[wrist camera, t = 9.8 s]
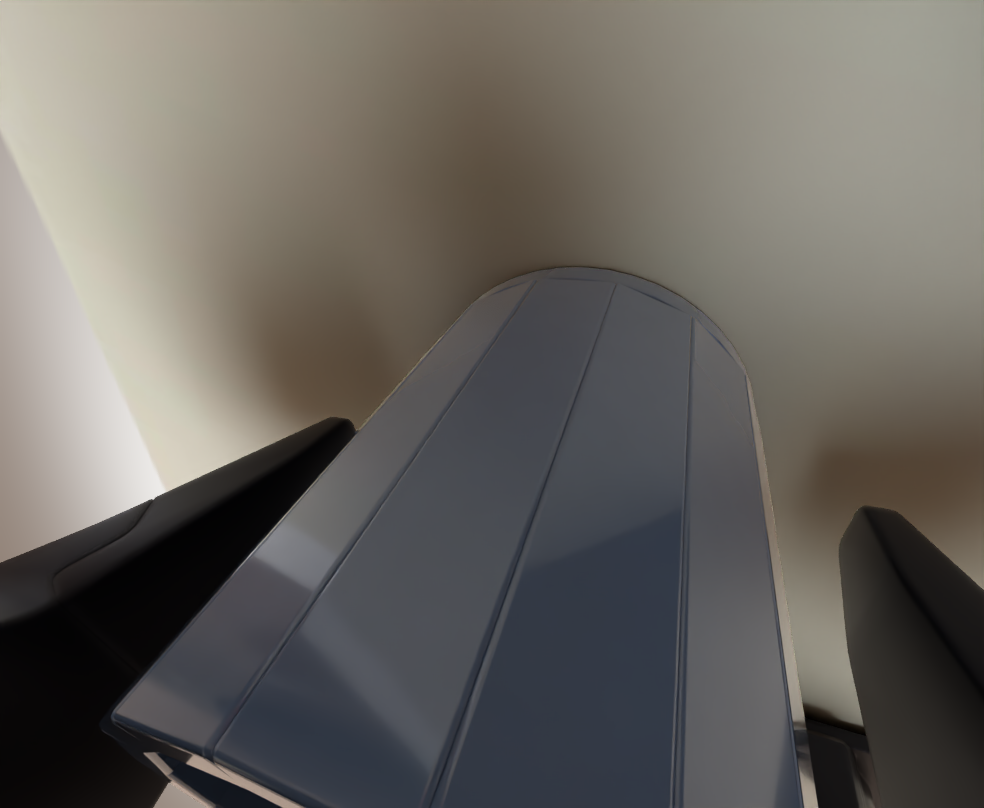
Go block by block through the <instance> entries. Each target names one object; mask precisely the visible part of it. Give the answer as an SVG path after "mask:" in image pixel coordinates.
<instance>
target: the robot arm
mask: <svg viewBox="0 0 984 808" xmlns="http://www.w3.org/2000/svg"><path fill="white" fill-rule="evenodd" d="M355 432H356V431H355V428H354V425H353V423H352V422H351V421H350V420H349V419H345V418H339V417H330V418H327V419H325V420H323V421H321V422H319V423H317V424H314V425H312V426H310V427H308V428H306V429H303V430H301V431H299V432H297V433H295V434H293V435H290V436H288V437H286V438H284V439H282V440H279V441H277V442H275V443H273V444H271V445H269V446H266V447H264V448H262V449H260V450H258V451H256V452H253V453H251V454H249V455H247V456H245V457H242V458H240V459H238V460H236V461H234V462H232V463H229V464H227V465H225V466H223V467H221V468H218V469H216V470H214V471H212V472H210V473H208V474H205V475H203V476H201V477H199V478H197V479H194V480H192V481H190V482H188V483H186V484H184V485H181V486H179V487H177V488H175V489H173V490H170V491H168V492H166V493H164V494H162V495H160V496H157V497H156V498H155V499H154V500H152V499H151V500H148V501H146V502H144V503H142V504H140V505H138V506H136V507H133V508H131V509H129V510H127V511H124V512H122V513H120V514H118V515H115V516H113V517H111V518H109V519H106V520H104V521H102V522H100V523H97V524H95V525H92V526H90V527H88V528H85V529H83V530H80V531H78V532H75V533H73V534H71V535H69V536H66V537H64V538H61V539H59V540H56V541H54V542H51V543H48V544H46V545H44V546H41V547H39V548H36V549H34V550H31V551H29V552H26V553H24V554H21V555H19V556H16V557H14V558H11V559H9V560H6V561H4V562H1V563H0V808H153V807H154V805H155V804H156V802H157V801H158V799H159V797H160V796H161V794H162V792H163V791H164V789H165V788H166V786H167V784H168V783H169V782H168V781H166V780H165V779H163V778H162V777H161V776H159V775H158V774H156V773H155V772H153V771H152V770H150V769H149V768H147V767H146V766H145V765H143V764H142V763H140V762H139V761H137V760H136V759H135V758H133V757H132V756H131V755H130V754H129V753H127V752H126V751H125V750H124V749H123V748H122V747H120V746H119V745H118V744H117V743H116V742H115V741H114V740H112V739H111V738H110V737H109V736H108V735H107V734H105V733H104V732H103V731H102V730H101V728H100V726H99V723H100V721H101V719H102V717H103V716H104V715H105V714H106V712H107V711H108V710H109V709H110V708H111V707H112V706H113V705H114V703H115V702H116V701H117V700H118V699H119V698H120V697H121V696H122V694H123V693H124V692H125V691H126V690H127V689H128V688H129V687H130V685H131V684H132V683H133V682H134V681H135V680H136V679H137V678H138V676H139V675H140V674H141V673H142V672H143V671H144V670H145V669H146V667H147V666H148V665H149V664H150V663H151V662H152V661H153V660H154V658H155V657H156V656H157V655H158V654H159V653H160V652H161V651H162V649H163V648H164V647H165V646H166V645H167V644H168V643H169V642H170V640H171V639H172V638H173V637H174V636H175V635H176V634H177V633H178V631H179V630H180V629H181V628H182V627H183V626H184V625H185V624H186V622H187V621H188V620H189V619H190V618H191V617H192V616H193V615H194V613H195V612H196V611H197V610H198V609H199V608H200V607H201V606H202V604H203V603H204V602H205V601H206V600H207V599H208V598H209V597H210V595H211V594H212V593H213V592H214V591H215V590H216V589H217V588H218V586H219V585H220V584H221V583H222V582H223V581H224V580H225V579H226V577H227V576H228V575H229V574H230V573H231V572H232V571H233V570H234V568H235V567H236V566H237V565H238V564H239V563H240V562H241V561H242V559H243V558H244V557H245V556H246V555H247V554H248V553H249V552H250V550H251V549H252V548H253V547H254V546H255V545H256V544H257V543H258V541H259V540H260V539H261V538H262V537H263V536H264V535H265V534H266V532H267V531H268V530H269V529H270V528H271V527H272V526H273V525H274V523H275V522H276V521H277V520H278V519H279V518H280V517H281V516H282V514H283V513H284V512H285V511H286V510H287V509H288V508H289V507H290V505H291V504H292V503H293V502H294V501H295V500H296V499H297V498H298V496H299V495H300V494H301V493H302V492H303V491H304V490H305V489H306V487H307V486H308V485H309V484H310V483H311V482H312V481H313V480H314V478H315V477H316V476H317V475H318V474H319V473H320V472H321V471H322V469H323V468H324V467H325V466H326V465H327V464H328V463H329V462H330V460H331V459H332V458H333V457H334V456H335V455H336V454H337V453H338V451H339V450H340V449H341V448H342V447H343V446H344V445H345V444H346V442H347V441H348V440H349V439H350V438H351V437H352V436H353V435H354V433H355ZM839 563H840V574H841V585H842V596H843V607H844V619H845V630H846V639H847V648H848V654H849V659H850V665H851V669H852V674H853V678H854V683H855V687H856V692H857V697H858V701H859V706H860V710H861V715H862V719H863V724H864V728H865V733H866V736H864V735H860V734H857V733H854V732H850V731H847V730H844V729H840V728H837V727H834V726H830V725H827V724H824V723H820V722H817V721H814V720H810V719H807V718H805V724H806V731H807V737H808V744H809V750H810V757H811V764H812V770H813V777H814V783H815V790H816V797H817V803H818V808H984V590H983V589H982V588H981V587H980V586H978V585H977V584H976V583H975V582H974V581H973V580H972V579H971V578H970V577H969V576H968V575H966V574H965V573H964V572H963V571H962V570H961V569H960V568H959V567H958V566H957V565H955V564H954V563H953V562H952V561H951V560H950V559H949V558H948V557H947V556H946V555H944V554H943V553H942V552H941V551H940V550H939V549H938V548H937V547H936V546H935V545H934V544H932V543H931V542H930V541H929V540H928V539H927V538H926V537H925V536H924V535H923V534H921V533H920V532H919V531H918V530H917V529H916V528H915V527H914V526H913V525H912V524H910V523H909V522H908V521H907V520H906V519H905V518H904V517H903V516H902V515H900V514H899V513H898V512H896V511H893V510H890V509H884V508H878V507H872V506H862V507H860V508H859V509H858V510H857V511H856V513H855V515H854V517H853V518H852V520H851V522H850V524H849V526H848V528H847V529H846V531H845V533H844V535H843V537H842V539H841V541H840V545H839Z"/></svg>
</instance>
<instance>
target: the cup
mask: <svg viewBox="0 0 984 808" xmlns="http://www.w3.org/2000/svg"><path fill="white" fill-rule="evenodd" d="M99 726H100V728H101V730H102V731H103V732H104V733H105V734H107V735H108V736H109V737H110V738H111V739H112V740H114V741H115V742H116V743H117V744H118V745H119V746H120V747H122V748H123V749H124V750H125V751H126V752H127V753H129V754H130V755H131V756H132V757H133V758H135V759H136V760H137V761H139V762H140V763H142V764H143V765H145V766H146V767H147V768H149V769H150V770H152V771H153V772H155V773H156V774H158V775H159V776H161V777H162V778H163V779H165V780H166V781H168V782H169V783H171V784H172V785H174V786H175V787H177V788H178V789H179V790H181V791H182V792H184V793H185V794H187V795H188V796H190V797H192V798H193V799H194V800H196V801H198V802H199V803H201V804H202V805H204V806H205V807H207V808H818V803H817V797H816V790H815V783H814V777H813V770H812V764H811V757H810V750H809V744H808V737H807V731H806V724H805V718H804V711H803V704H802V698H801V691H800V685H799V678H798V671H797V665H796V658H795V652H794V645H793V638H792V632H791V625H790V619H789V612H788V605H787V599H786V592H785V586H784V579H783V572H782V566H781V559H780V553H779V546H778V540H777V533H776V526H775V520H774V513H773V507H772V500H771V493H770V487H769V480H768V474H767V467H766V460H765V454H764V447H763V441H762V434H761V430H760V426H759V422H758V418H757V414H756V410H755V404H754V398H753V392H752V386H751V383H750V380H749V377H748V375H747V372H746V369H745V366H744V364H743V362H742V361H741V359H740V357H739V355H738V353H737V352H736V350H735V348H734V346H733V345H732V344H731V343H730V341H729V340H728V339H727V337H726V336H725V335H724V334H723V332H722V331H721V330H720V329H719V327H717V326H716V325H715V324H714V323H713V322H712V321H711V320H710V319H709V318H708V317H707V316H706V315H705V314H704V313H703V312H702V311H700V310H699V309H697V308H696V307H695V306H693V305H692V304H690V303H689V302H688V301H686V300H685V299H683V298H682V297H680V296H679V295H677V294H675V293H673V292H671V291H669V290H667V289H665V288H663V287H661V286H659V285H658V284H655V283H652V282H649V281H647V280H644V279H641V278H639V277H636V276H633V275H629V274H625V273H620V272H616V271H612V270H606V269H597V268H587V267H567V268H553V269H547V270H541V271H535V272H531V273H528V274H525V275H522V276H518V277H515V278H512V279H510V280H508V281H506V282H504V283H502V284H500V285H497V286H495V287H494V288H492V289H491V290H489V291H488V292H486V293H485V294H483V295H482V296H480V297H479V298H478V299H476V300H475V301H474V302H473V303H472V304H471V305H470V306H469V307H468V308H467V309H465V311H464V312H463V313H462V314H461V315H460V316H459V317H458V318H457V320H456V321H455V322H454V323H453V324H452V325H451V326H450V327H449V328H448V329H447V330H446V332H445V333H444V334H443V335H442V336H441V337H440V338H439V339H438V340H437V341H436V342H435V343H434V345H433V346H432V347H431V348H430V349H429V350H428V351H427V352H426V354H425V355H424V356H423V357H422V358H421V359H420V360H419V361H418V363H417V364H416V365H415V366H414V367H413V368H412V369H411V370H410V372H409V373H408V374H407V375H406V376H405V377H404V378H403V379H402V381H401V382H400V383H399V384H398V385H397V386H396V387H395V388H394V390H393V391H392V392H391V393H390V394H389V395H388V396H387V397H386V399H385V400H384V401H383V402H382V403H381V404H380V405H379V406H378V408H377V409H376V410H375V411H374V412H373V413H372V414H371V415H370V417H369V418H368V419H367V420H366V421H365V422H364V423H363V424H362V426H361V427H360V428H359V429H358V430H357V431H356V432H355V433H354V435H353V436H352V437H351V438H350V439H349V440H348V441H347V442H346V444H345V445H344V446H343V447H342V448H341V449H340V450H339V451H338V453H337V454H336V455H335V456H334V457H333V458H332V459H331V460H330V462H329V463H328V464H327V465H326V466H325V467H324V468H323V469H322V471H321V472H320V473H319V474H318V475H317V476H316V477H315V478H314V480H313V481H312V482H311V483H310V484H309V485H308V486H307V487H306V489H305V490H304V491H303V492H302V493H301V494H300V495H299V496H298V498H297V499H296V500H295V501H294V502H293V503H292V504H291V505H290V507H289V508H288V509H287V510H286V511H285V512H284V513H283V514H282V516H281V517H280V518H279V519H278V520H277V521H276V522H275V523H274V525H273V526H272V527H271V528H270V529H269V530H268V531H267V532H266V534H265V535H264V536H263V537H262V538H261V539H260V540H259V541H258V543H257V544H256V545H255V546H254V547H253V548H252V549H251V550H250V552H249V553H248V554H247V555H246V556H245V557H244V558H243V559H242V561H241V562H240V563H239V564H238V565H237V566H236V567H235V568H234V570H233V571H232V572H231V573H230V574H229V575H228V576H227V577H226V579H225V580H224V581H223V582H222V583H221V584H220V585H219V586H218V588H217V589H216V590H215V591H214V592H213V593H212V594H211V595H210V597H209V598H208V599H207V600H206V601H205V602H204V603H203V604H202V606H201V607H200V608H199V609H198V610H197V611H196V612H195V613H194V615H193V616H192V617H191V618H190V619H189V620H188V621H187V622H186V624H185V625H184V626H183V627H182V628H181V629H180V630H179V631H178V633H177V634H176V635H175V636H174V637H173V638H172V639H171V640H170V642H169V643H168V644H167V645H166V646H165V647H164V648H163V649H162V651H161V652H160V653H159V654H158V655H157V656H156V657H155V658H154V660H153V661H152V662H151V663H150V664H149V665H148V666H147V667H146V669H145V670H144V671H143V672H142V673H141V674H140V675H139V676H138V678H137V679H136V680H135V681H134V682H133V683H132V684H131V685H130V687H129V688H128V689H127V690H126V691H125V692H124V693H123V694H122V696H121V697H120V698H119V699H118V700H117V701H116V702H115V703H114V705H113V706H112V707H111V708H110V709H109V710H108V711H107V712H106V714H105V715H104V716H103V717H102V719H101V721H100V723H99Z"/></svg>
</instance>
